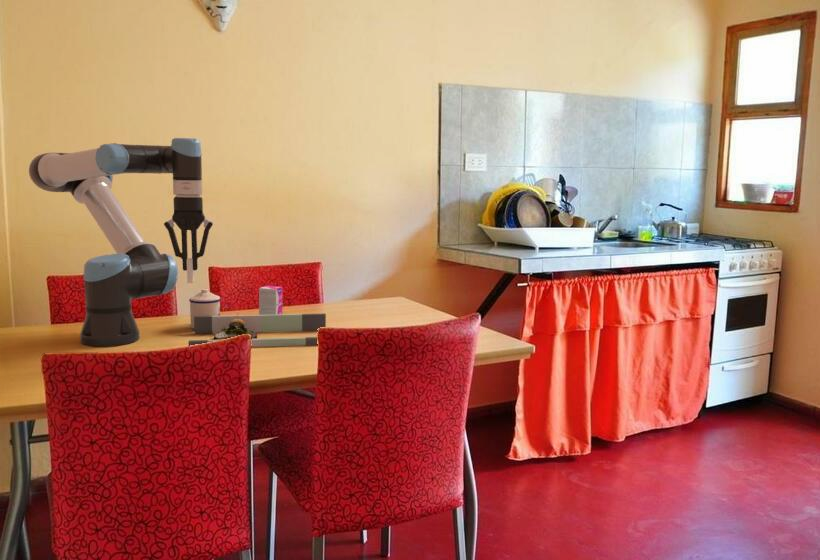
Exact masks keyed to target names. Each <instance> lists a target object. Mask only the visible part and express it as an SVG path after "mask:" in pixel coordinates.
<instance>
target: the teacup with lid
mask: <svg viewBox="0 0 820 560" xmlns="http://www.w3.org/2000/svg"><path fill="white" fill-rule="evenodd" d="M220 301H221V296H219V295H216V294H214V293H212V292H209V289H207V288H202V289H201V290H200V292H198V293H196V294H195V295H191V296H190V297H189V300H188V302H189V306H190V308H189V309H190V311H189V314H190V315H189V317H190V327H191V329H193V330H194V316H221V302H220Z"/></svg>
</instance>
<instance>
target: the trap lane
mask: <svg viewBox="0 0 820 560" xmlns="http://www.w3.org/2000/svg"><path fill="white" fill-rule="evenodd" d="M326 317H327V316H326V313H322V312H321V313H291V314H290V313H285V314H284V313H282V314H275V315H259V314H236V315H232V314H230V315H220V316H194V329H193V330H194V334H195V335H200V334H201V335H202V334H203V335H204V334H206V335H207V334H210V333H211V334H216V333H219V332H221V330H222V329H224V328H225V329H227V328H230V327H229V323H230V322H231V321H232V320H234V319H237V318H238V319H241V320H243V321H244V323H245V326H244V327H245V328H247V329H248V331H253V332H255V333H278V332H279V333H281V332H315V331H316V332H317V329H318V328H320V327H326V328H327V326H326V323H327V322H326ZM223 326H224V327H223ZM317 337H318V336H308V337H307V336H303V337H302V336H299V337H268V338H267V337H266V338H265V337H263V338H257V339H254V338H252V347H251V348H260V347H261V348H263V347H264V348H265V347H294V346H296V347H297V346H318V345H317ZM213 341H219V339H215V340H214V339H197V340H196V339H195V340H191V339H190V340H188V347H189V346H190V345H195V344H202V343H207V342H213Z"/></svg>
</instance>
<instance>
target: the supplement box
mask: <svg viewBox="0 0 820 560" xmlns="http://www.w3.org/2000/svg"><path fill="white" fill-rule="evenodd" d="M283 287H284V286H275V285H264V286H261V287H259V288H258V289H259V290H258V292H259V293H258V294H259V295H258V297H259V299H258V315H275V314H283V302H284V301H283V297H284V295H283V292H284V291H283V290H284V289H283Z"/></svg>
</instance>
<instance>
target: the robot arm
mask: <svg viewBox="0 0 820 560" xmlns="http://www.w3.org/2000/svg"><path fill="white" fill-rule="evenodd" d="M202 155H203V154H202V148H201V141H200V140H199V139H197V138H190V137H174V138H173V139H172V140H171V145H159V144H158V145H156V144H155V145H152V144H151V145H150V144H148V145H147V144H127V143H125V144H123V143H116V142H114V143H103V144H101V145H100V146H99V147H97V148H93V149H88V150H80V151H76V152H46V153H41V154H39V155H37V156H35V157H34V158H33V159H32V160H31V162H30V163H29V166H28V174H29V177H30V180H31V181H32V183H34V185H36V186H37V187H38V188H40V189H41V190H44V191H46V192H52V193H71V196H72V197H73V199H74V200H75V201H76V202H77V203H79V204H84V205H85V207H86V209H87V210H88V211H89V213H90V215H91V216H92V218H93V219H94V220H95V222H96V223H97V225H98V226H99V228H100V230H101V231H102V233H103V234H104V236H105V238H106V239H107V241H108V242H109V243H110V245H111V247H112V248H113V250H114V252H116V253H111V254H104V255H98V256H95V257H92V258H89V259H88V260H87V261H86V262H85V263H84V265H83V277H82V278H83V281H84V284H83V285H84V297H85V299H84V301H85V316H84V317H85V318H84V320H83V322H82V323H83V324H82V328H81V330H80V333H79V338H80V340H79V341H80V344H82V345H84V346H88V347H89V346H91V347H114V346H116V347H117V346H123V345H128V344H131V343H134V342H136V341H138V340H139V339H140V329H139V327H138V324H137V321H136V319H135V317H134V314H133V311H132V309H133V308H132V300H136V299H142V298H143V299H144V298H149V297H154V296H161V295H165V294H168V293H171V291H172V290H174V289H175V286H176V285H177V281H178V279H179V276H178V274H179V270H178V265H177V261H176V260H175V258H174V257H173V256H172V255H171V254H167V253H160V251H159V249H157V247H156V245H155V244H153V243H151V242H150V243H149V242H146V240H145V239H144V237H143V236H142V234H141V233H140V231H139V230H138V228H137V227H136V225H135V224H134V223H133V221H132V219H131V218H130V217H129V214H127V212H126V211H125V209H124V207H122V205H121V203H120V202H119V200H118V199H117V197H116V196H115V194H114V193H113V191H112V190H111V189H112V185H113V184H112V183H113V177H114V175H120V174H121V175H122V174H158V175H159V174H160V175H161V174H172V192H173V193H172V194H173V195H174V197H173V214H172V216H171V217H172V218H170V219H169V220H168V221H165V222H164V223H163V225H164V227H165V228H166V230H167V232H168V235H169V238H170V241H171V246H172V248H173V252H174V256H175V257H177V258H180V259H181V260H182V270H183V271H184V272H185V271H186V274H187V275H186V279H187V280H186V283H187V284H193V283H194V282H195V280H194V279H195V278H194V274H195V273H194V271H197V270H198V259H199V258H201V257H204V254H205V251H206V246H207V243H208V238H209V233H210V230H211V228H212V226H214V222H213V221H210V220H209V219H206V216H205V215H204V206H203V203H204V202H203V198H202V195H203V179H202V178H203V176H202V175H203V174H202V173H203V171H202V170H203V169H202ZM202 224H203V228H204V229H203V234H202V238H201V243H200V248H199V251H198V236H197V235H198V229H199V228H200V227H201V225H202ZM175 225H176V226H177V227H178V228H179V230H180V233H181V250H180V245H179V242H178V240H177V235H176V232H175V229H174V227H175ZM188 231H190V234H191V235H190V236H191V257H189V255H188Z"/></svg>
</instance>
